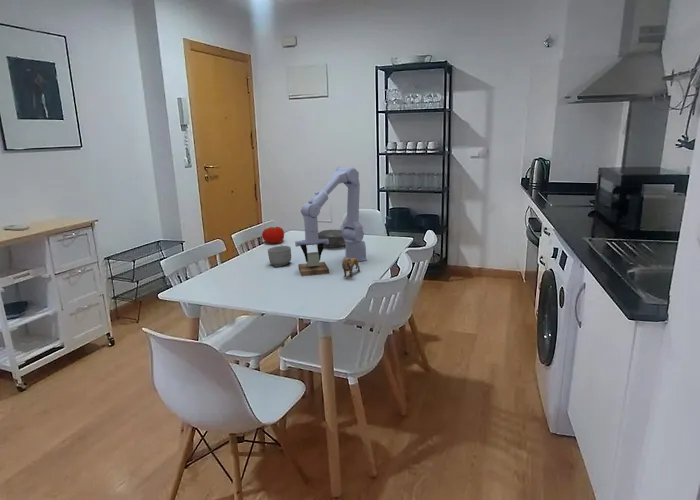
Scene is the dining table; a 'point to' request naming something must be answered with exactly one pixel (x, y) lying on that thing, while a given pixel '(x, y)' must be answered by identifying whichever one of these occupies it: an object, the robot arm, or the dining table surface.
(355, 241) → the robot arm
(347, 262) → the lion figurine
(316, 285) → the dining table surface
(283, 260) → the teacup
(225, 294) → the dining table surface
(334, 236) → the bowl
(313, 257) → the block
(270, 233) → the tomato
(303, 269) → the base
